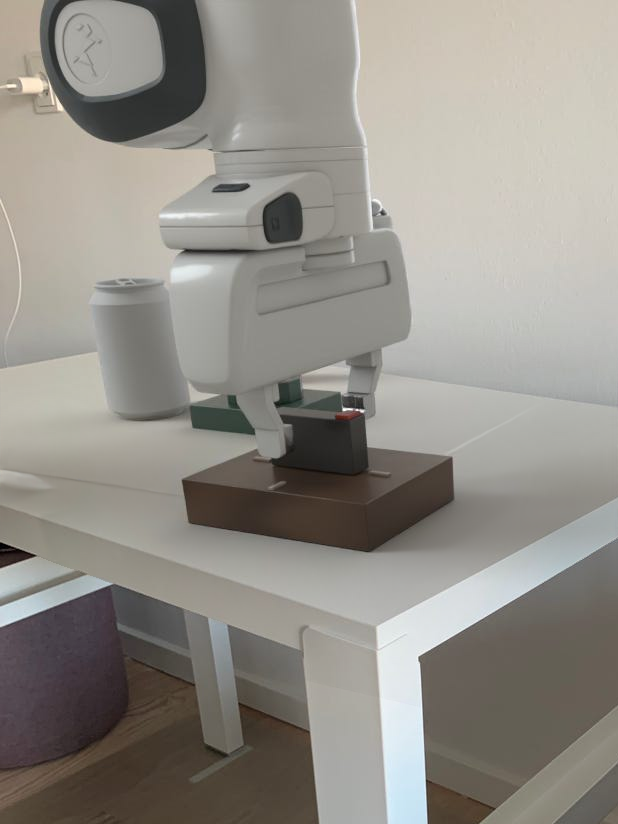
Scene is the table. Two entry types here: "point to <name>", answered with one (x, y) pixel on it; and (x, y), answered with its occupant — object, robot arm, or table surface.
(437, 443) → the table surface
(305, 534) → the brown wooden base
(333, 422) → the dark grey rectangular block
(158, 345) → the can
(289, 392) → the button box
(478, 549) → the table surface
